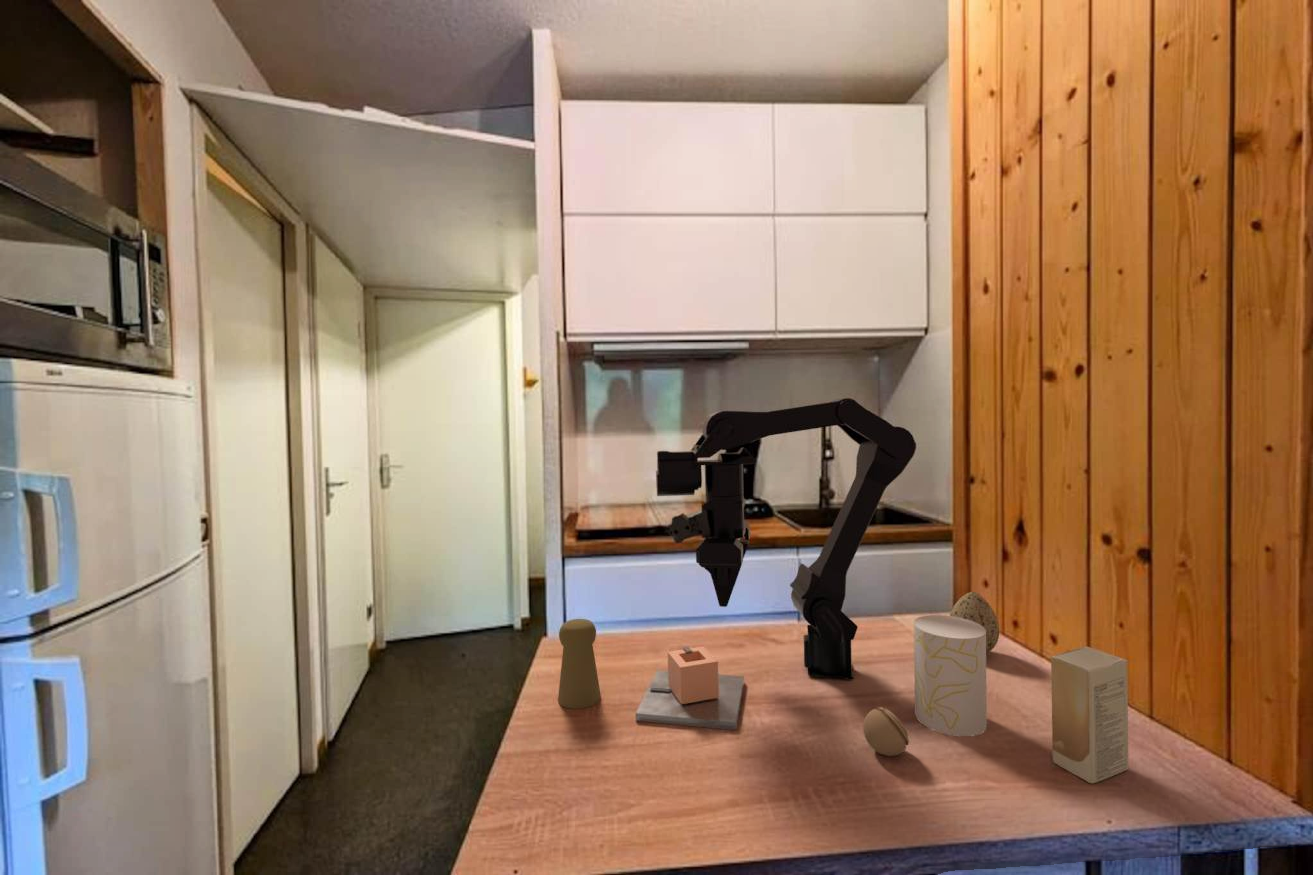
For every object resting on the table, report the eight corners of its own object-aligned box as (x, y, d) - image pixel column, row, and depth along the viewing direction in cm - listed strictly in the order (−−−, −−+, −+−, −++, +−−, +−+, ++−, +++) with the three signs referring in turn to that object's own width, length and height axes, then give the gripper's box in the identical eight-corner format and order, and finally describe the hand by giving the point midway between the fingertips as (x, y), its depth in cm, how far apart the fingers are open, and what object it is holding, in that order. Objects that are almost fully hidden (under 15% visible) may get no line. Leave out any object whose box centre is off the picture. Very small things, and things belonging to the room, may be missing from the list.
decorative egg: (1003, 651, 93) (1003, 590, 93) (994, 666, 88) (994, 602, 87) (955, 641, 98) (954, 583, 97) (943, 655, 92) (943, 593, 92)
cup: (905, 721, 73) (904, 628, 73) (927, 697, 79) (926, 610, 79) (976, 744, 68) (975, 643, 67) (994, 716, 74) (993, 624, 73)
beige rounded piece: (906, 770, 63) (905, 725, 63) (859, 757, 66) (858, 714, 66) (912, 747, 68) (912, 705, 67) (868, 736, 70) (867, 695, 70)
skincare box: (1088, 749, 66) (1088, 644, 66) (1130, 771, 62) (1130, 659, 62) (1049, 762, 64) (1048, 654, 63) (1090, 785, 60) (1090, 669, 59)
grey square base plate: (744, 682, 85) (743, 656, 85) (735, 730, 72) (735, 698, 72) (658, 676, 88) (657, 650, 88) (635, 720, 75) (634, 690, 75)
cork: (593, 710, 78) (591, 630, 78) (551, 707, 79) (548, 628, 79) (606, 689, 84) (604, 615, 84) (566, 686, 85) (564, 613, 85)
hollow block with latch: (718, 697, 78) (717, 659, 78) (681, 704, 77) (680, 665, 76) (704, 680, 83) (703, 644, 83) (668, 686, 82) (667, 649, 82)
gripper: (683, 486, 98) (685, 577, 98) (658, 503, 80) (661, 614, 80) (749, 486, 95) (751, 579, 96) (739, 503, 77) (742, 618, 78)
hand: (726, 596), depth 87 cm, fingers open, 9 cm apart
